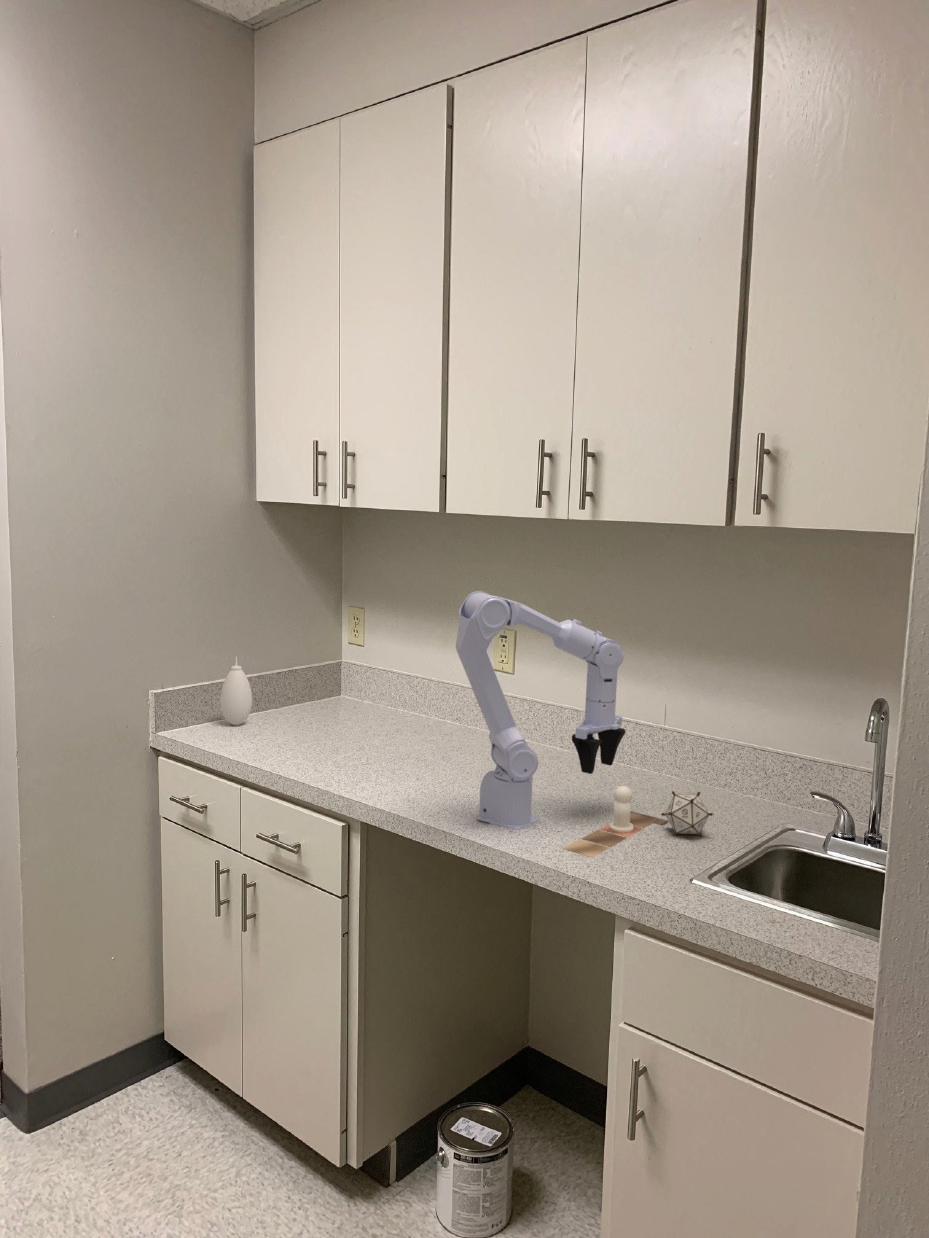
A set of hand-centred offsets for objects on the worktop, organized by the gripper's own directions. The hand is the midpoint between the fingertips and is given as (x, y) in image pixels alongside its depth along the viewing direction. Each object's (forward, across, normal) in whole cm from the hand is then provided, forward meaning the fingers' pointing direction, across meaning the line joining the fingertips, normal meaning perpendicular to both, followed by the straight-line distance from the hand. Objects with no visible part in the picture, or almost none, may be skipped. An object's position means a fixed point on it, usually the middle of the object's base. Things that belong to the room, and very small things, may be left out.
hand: (597, 768), depth 182 cm
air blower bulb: (+10, -2, +105) cm, 105 cm away
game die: (+10, +2, -18) cm, 20 cm away
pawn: (+9, -4, -8) cm, 13 cm away
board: (+9, -8, -8) cm, 14 cm away
